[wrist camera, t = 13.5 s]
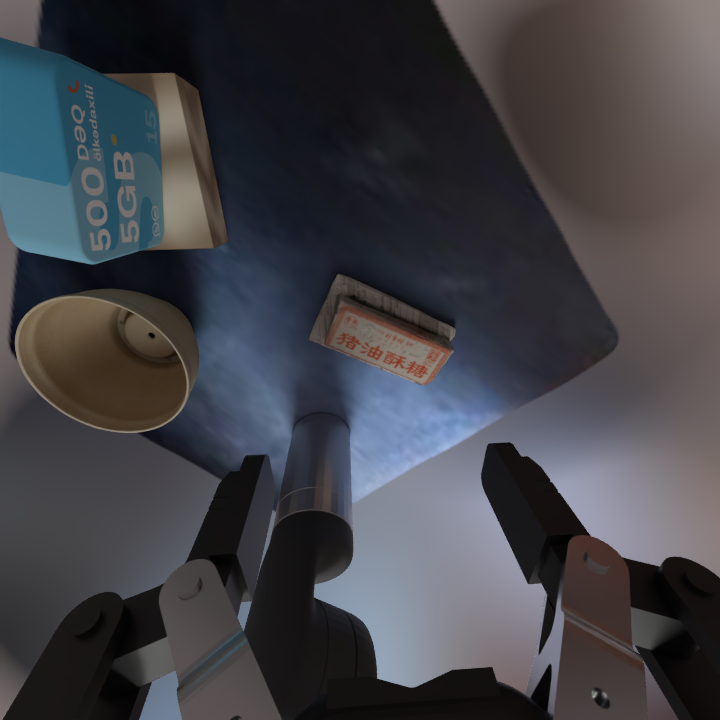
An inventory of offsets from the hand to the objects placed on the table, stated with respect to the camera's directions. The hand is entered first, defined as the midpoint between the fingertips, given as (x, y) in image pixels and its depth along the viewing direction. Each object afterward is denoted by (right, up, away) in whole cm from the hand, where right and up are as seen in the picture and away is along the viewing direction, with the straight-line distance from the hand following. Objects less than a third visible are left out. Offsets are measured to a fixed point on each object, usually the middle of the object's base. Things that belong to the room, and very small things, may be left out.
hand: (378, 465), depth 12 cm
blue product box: (-22, +22, +18) cm, 35 cm away
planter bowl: (-27, +8, +31) cm, 42 cm away
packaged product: (+2, +8, +33) cm, 34 cm away
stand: (-22, +24, +23) cm, 39 cm away
